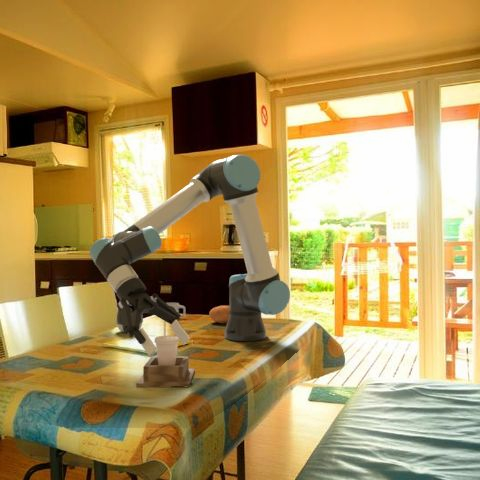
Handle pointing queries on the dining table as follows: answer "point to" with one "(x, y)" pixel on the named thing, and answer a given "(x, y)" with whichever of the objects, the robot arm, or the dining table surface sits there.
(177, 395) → the dining table surface
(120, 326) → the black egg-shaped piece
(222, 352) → the dining table surface
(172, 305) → the mug
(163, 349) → the smoothie
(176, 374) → the box
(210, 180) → the robot arm
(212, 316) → the potato
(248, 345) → the dining table surface
